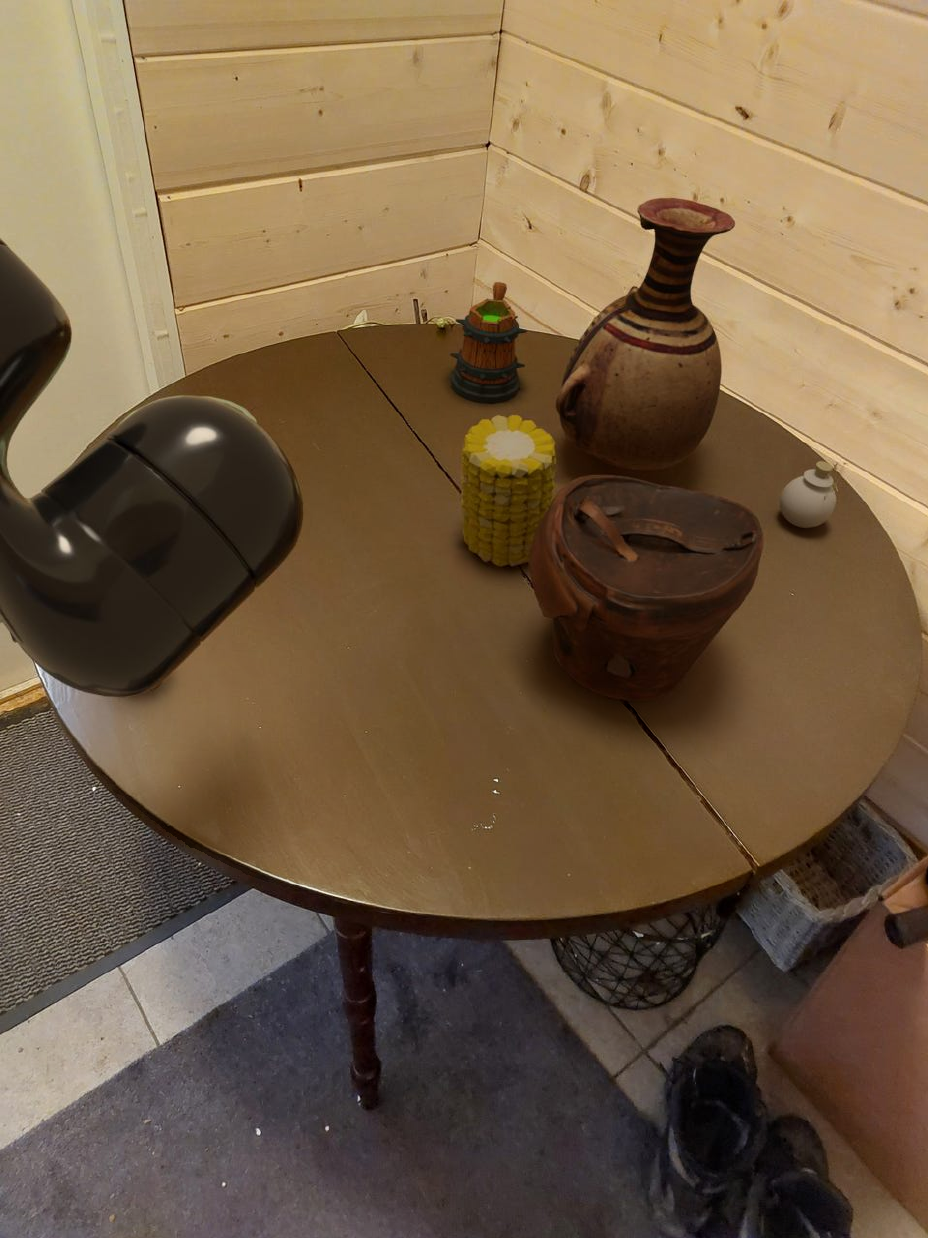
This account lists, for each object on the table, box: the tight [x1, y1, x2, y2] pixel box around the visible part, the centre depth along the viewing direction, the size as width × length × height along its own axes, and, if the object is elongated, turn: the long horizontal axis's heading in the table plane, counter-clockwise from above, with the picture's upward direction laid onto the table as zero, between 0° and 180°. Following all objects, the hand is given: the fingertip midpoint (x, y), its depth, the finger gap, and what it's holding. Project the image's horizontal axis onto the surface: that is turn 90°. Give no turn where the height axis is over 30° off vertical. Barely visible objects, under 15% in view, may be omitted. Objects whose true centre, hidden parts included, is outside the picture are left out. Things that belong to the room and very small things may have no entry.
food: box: [460, 414, 557, 568], centre depth 86 cm, size 15×12×10 cm
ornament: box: [779, 460, 839, 529], centre depth 94 cm, size 6×7×10 cm
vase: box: [555, 197, 736, 471], centre depth 93 cm, size 21×18×30 cm
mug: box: [449, 281, 528, 404], centre depth 111 cm, size 13×10×12 cm
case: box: [528, 474, 764, 702], centre depth 75 cm, size 18×20×18 cm
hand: (125, 593), depth 58 cm, fingers open, 8 cm apart
